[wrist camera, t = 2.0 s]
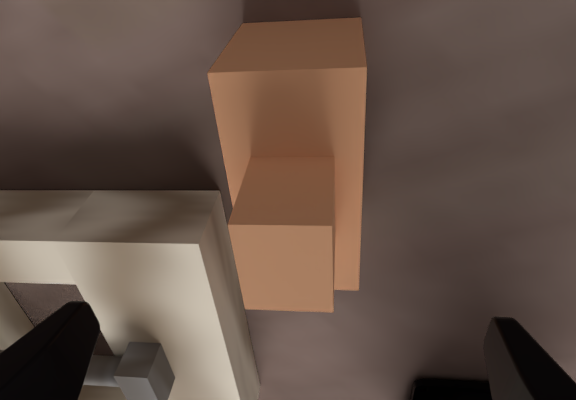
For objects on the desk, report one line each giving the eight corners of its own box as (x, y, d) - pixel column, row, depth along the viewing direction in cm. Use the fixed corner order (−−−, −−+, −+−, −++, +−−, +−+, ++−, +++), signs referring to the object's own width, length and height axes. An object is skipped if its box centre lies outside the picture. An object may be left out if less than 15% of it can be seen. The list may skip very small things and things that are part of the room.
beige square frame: (219, 190, 19) (184, 279, 15) (260, 385, 28) (245, 474, 24) (-165, 190, 22) (-289, 265, 17) (-10, 369, 31) (-66, 446, 27)
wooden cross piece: (361, 17, 14) (373, 123, 8) (356, 208, 19) (361, 367, 13) (242, 23, 15) (168, 127, 8) (266, 208, 19) (230, 360, 13)
